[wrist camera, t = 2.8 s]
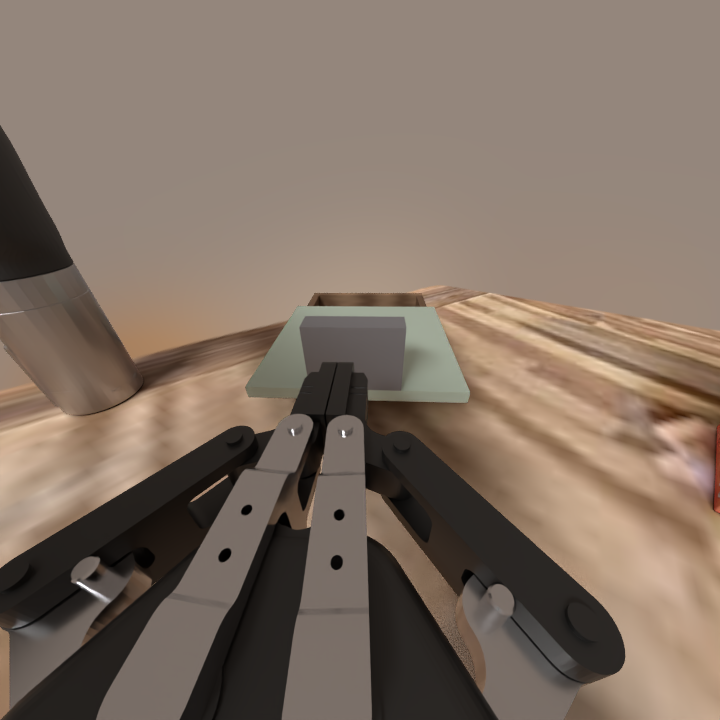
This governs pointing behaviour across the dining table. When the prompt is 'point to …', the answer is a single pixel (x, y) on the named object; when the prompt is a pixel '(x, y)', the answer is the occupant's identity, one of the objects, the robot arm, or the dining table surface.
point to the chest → (368, 299)
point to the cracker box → (717, 474)
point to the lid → (365, 353)
